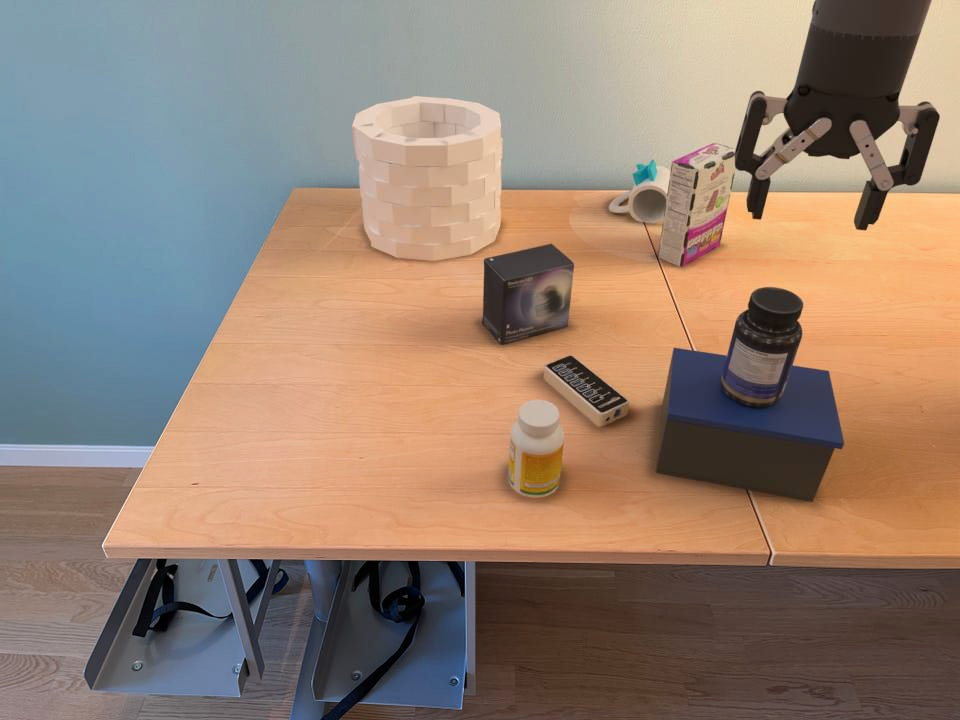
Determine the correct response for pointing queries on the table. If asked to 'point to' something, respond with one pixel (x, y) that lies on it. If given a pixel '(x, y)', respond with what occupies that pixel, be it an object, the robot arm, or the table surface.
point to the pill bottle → (763, 348)
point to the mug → (645, 194)
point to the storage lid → (793, 417)
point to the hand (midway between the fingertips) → (807, 221)
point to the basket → (429, 176)
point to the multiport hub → (586, 390)
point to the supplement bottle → (536, 449)
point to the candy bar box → (697, 203)
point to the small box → (527, 293)
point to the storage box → (739, 458)
